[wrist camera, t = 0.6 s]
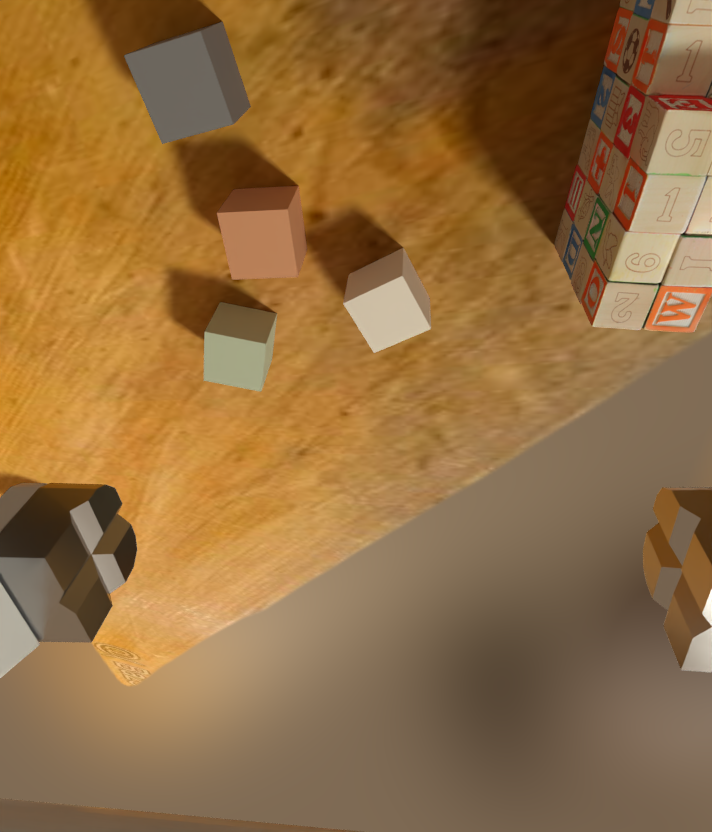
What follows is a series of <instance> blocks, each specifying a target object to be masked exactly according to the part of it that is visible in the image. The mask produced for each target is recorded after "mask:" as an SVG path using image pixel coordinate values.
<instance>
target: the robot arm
mask: <svg viewBox="0 0 712 832" xmlns="http://www.w3.org/2000/svg"><path fill="white" fill-rule="evenodd" d="M121 506H122V502H121V500H120V498H119V496H118V493H117V491H116V489H115V488H113V487H111V486H108V485H102V484H68V483H49V484H45V483H20V484H17V485H14V486H12V487H10V488H9V489H8V490H7V491H6V492H5V493H4V494H3V495H2V496H1V497H0V678H1V677H2V676H3V675H5V674H6V673H7V672H8V671H9V670H10V669H11V668H13V667H14V666H15V665H16V664H17V663H19V662H20V661H21V660H22V659H23V658H24V657H26V656H27V655H28V654H29V653H30V652H31V651H33V650H34V649H35V648H36V647H37V646H39V644H40V643H39V642H42V641H43V642H92V641H93V639H94V637H95V636H96V634H97V632H98V630H99V629H100V627H101V625H102V623H103V621H104V620H105V618H106V616H107V614H108V613H109V611H110V609H111V607H112V606H113V605H112V601H111V596H110V593H111V592H113V591H114V590H116V589H117V588H118V587H120V586H121V585H123V584H124V583H125V582H126V581H127V579H128V577H129V575H130V573H131V571H132V569H133V567H134V563H135V557H136V552H137V544H136V536H135V533H134V531H133V528H132V526H131V524H130V523H129V522H127V521H126V520H125V519H124V518H122V517H121V516H120V515H119V514H118V512H119V510H120V508H121ZM653 510H654V512H655V515H656V517H657V519H658V521H659V523H658V524H657V525H656V526H654V527H653V528H652V529H650V530H649V531H648V532H647V534H646V538H645V543H644V547H643V568H644V573H645V578H646V582H647V585H648V588H649V591H650V593H651V596H652V599H654V600H655V601H656V602H657V603H659V604H660V605H661V606H662V607H664V608H665V609H666V610H667V611H668V613H667V616H666V619H665V622H664V625H663V627H664V629H665V632H666V634H667V636H668V639H669V641H670V644H671V646H672V649H673V651H674V654H675V656H676V659H677V661H678V664H679V666H680V668H681V670H687V671H699V672H712V487H670V488H669V487H665V488H664V487H663V488H662V489H661V490H660V492H659V493H658V494H657V497H656V501H655V504H654V507H653ZM0 832H363V831H352V830H340V829H330V828H318V827H308V826H297V825H286V824H276V823H265V822H254V821H243V820H231V819H220V818H210V817H199V816H188V815H177V814H166V813H155V812H143V811H132V810H122V809H110V808H100V807H88V806H78V805H66V804H56V803H45V802H34V801H22V800H12V799H1V798H0Z"/></svg>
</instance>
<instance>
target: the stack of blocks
mask: <svg viewBox="0 0 712 832" xmlns="http://www.w3.org/2000/svg"><path fill="white" fill-rule="evenodd" d="M555 248H556V250H557V252H558V254H559V257H560V259H561V261H562V262H563V264H564V266H565V269H566V271H567V273H568V275H569V278H570V280H571V284H572V286H573V289H574V291H575V293H576V295H577V298H578V300H579V302H580V304H582V305H583V307H584V310H585V312H586V314H587V316H588V319H589V321H590V323H591V325H592V326H593V327H605V328H620V329H632V330H640V329H641V328H643V329H645V330H651V331H670V332H694V331H695V329H696V327H697V325H698V323H699V321H700V318H701V316H702V314H703V312H704V310H705V308H706V306H707V304H708V302H709V299H710V297H711V295H712V0H621V1H620V7H619V9H618V12H617V15H616V19H615V22H614V26H613V30H612V33H611V37H610V41H609V44H608V48H607V52H606V56H605V59H604V68H603V71H602V75H601V78H600V82H599V86H598V90H597V93H596V97H595V101H594V104H593V108H592V111H591V118H590V121H589V124H588V128H587V131H586V135H585V139H584V142H583V146H582V150H581V154H580V157H579V162H578V164H577V165H576V168H575V172H574V175H573V179H572V183H571V187H570V190H569V194H568V197H567V201H566V205H565V209H564V211H563V214H562V218H561V222H560V225H559V229H558V233H557V236H556V240H555Z"/></svg>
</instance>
